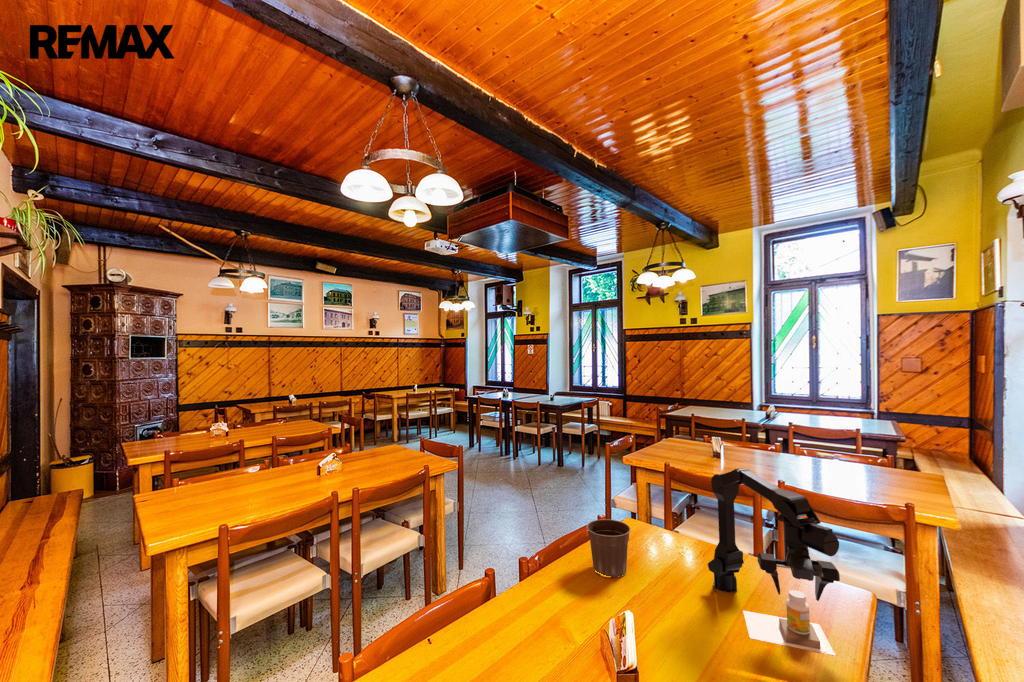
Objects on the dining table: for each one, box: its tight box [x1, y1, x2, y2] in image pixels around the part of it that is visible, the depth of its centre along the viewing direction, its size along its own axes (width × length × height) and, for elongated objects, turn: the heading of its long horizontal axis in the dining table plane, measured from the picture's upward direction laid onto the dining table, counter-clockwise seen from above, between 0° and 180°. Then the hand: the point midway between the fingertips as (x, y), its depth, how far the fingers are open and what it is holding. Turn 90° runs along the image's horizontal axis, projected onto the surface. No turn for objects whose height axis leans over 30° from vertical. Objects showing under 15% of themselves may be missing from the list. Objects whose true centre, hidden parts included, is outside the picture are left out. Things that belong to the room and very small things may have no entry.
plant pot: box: [586, 518, 631, 578], centre depth 160 cm, size 16×16×16 cm
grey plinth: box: [779, 618, 820, 649], centre depth 119 cm, size 8×8×2 cm
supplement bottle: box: [785, 589, 811, 635], centre depth 120 cm, size 5×5×10 cm
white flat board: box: [742, 610, 836, 657], centre depth 122 cm, size 20×14×1 cm
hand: (797, 596), depth 120 cm, fingers open, 9 cm apart
